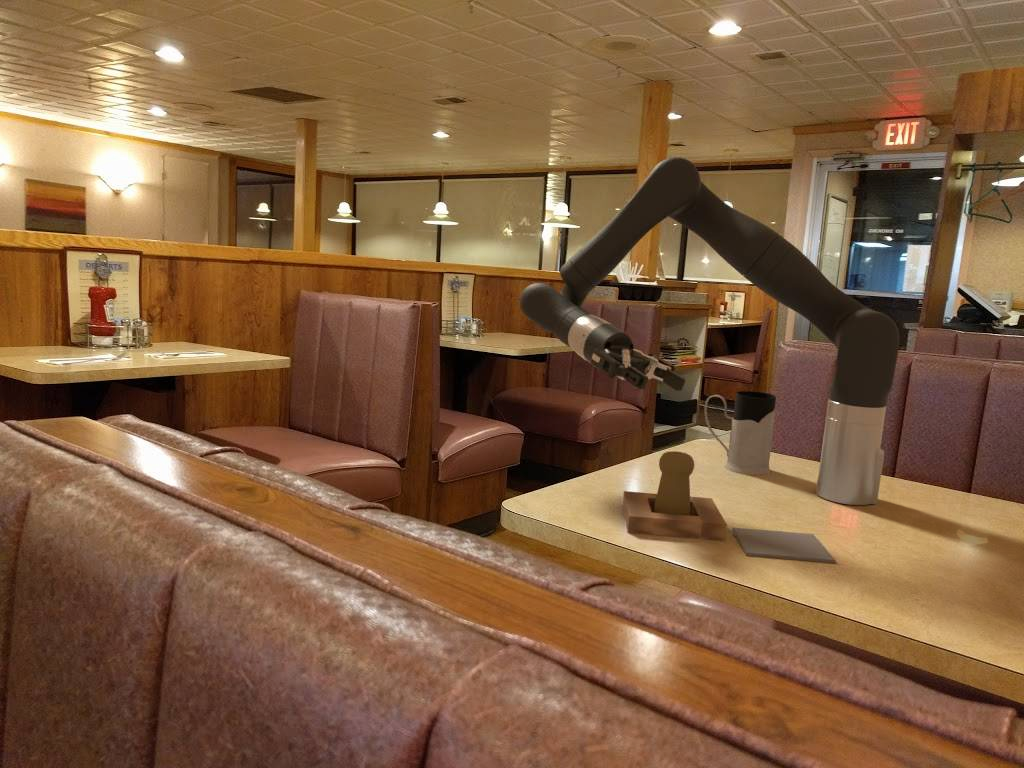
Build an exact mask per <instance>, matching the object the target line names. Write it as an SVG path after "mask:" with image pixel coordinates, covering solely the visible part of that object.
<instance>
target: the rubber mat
mask: <svg viewBox="0 0 1024 768" xmlns="http://www.w3.org/2000/svg"><path fill="white" fill-rule="evenodd" d="M731 531H732V533H733V534H734V536H735V538H736V540H737V541H738V544H739V545H740V546H742V547H741V548H742V550H743V552H744V554H745V555H746V556H748V557H749V556H751V557H763V558H771V559H772V558H774V559H785V560H797V561H809V562H819V563H821V562H822V563H832V564H836V562H837V560H836V558H835V557H834V556H833V555H832V554H831V553H830V552H829V551H828V549H827V548H826V547H825V545H824V544H823V543H822V542H820V540H819V539H818V538H817V537H816V535H814V533H803V532H793V531H781V530H770V529H769V530H768V529H757V528H746V527H745V528H744V527H733V526H731Z"/></svg>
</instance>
